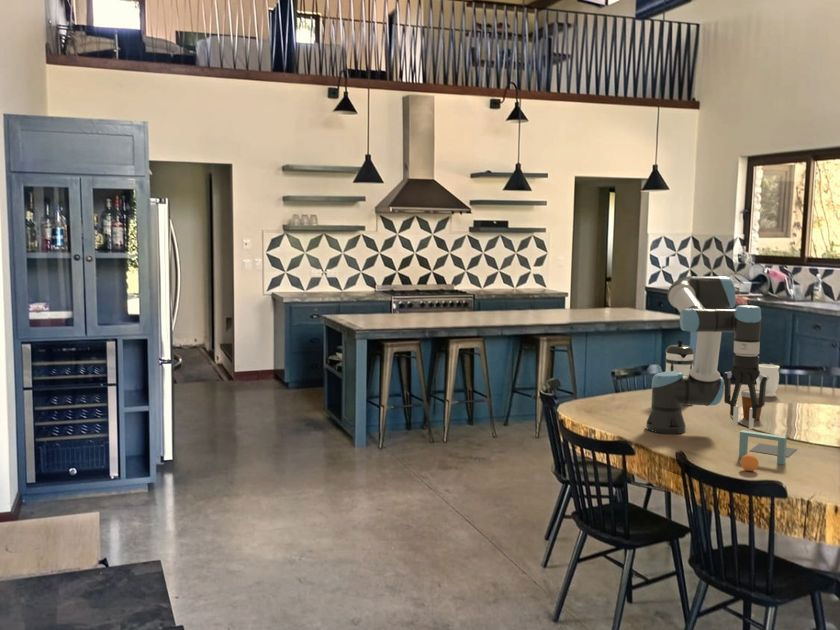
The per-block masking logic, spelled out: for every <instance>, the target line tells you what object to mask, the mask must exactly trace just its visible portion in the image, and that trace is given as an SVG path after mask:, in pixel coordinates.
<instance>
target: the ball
mask: <svg viewBox="0 0 840 630" xmlns="http://www.w3.org/2000/svg"><path fill="white" fill-rule="evenodd" d="M740 466H741V468H742V469H744V470H745V471H747V472H753V471H755V470H757V469H758V467H759V466H760V465H759V460H758V458H757V457H756V456H755V455H754V454H751V453H750V454H748V453H747V455H744V456H743V457H742V458H740Z"/></svg>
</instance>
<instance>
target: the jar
mask: <svg viewBox="0 0 840 630" xmlns="http://www.w3.org/2000/svg"><path fill="white" fill-rule="evenodd" d="M780 368H781V367H780V365H777V364H769V363H759V371H760V374H762V375H764V376H768V377H769V378H768V381H767V383H766V391H765V398H766V397H767V398H769V397H770V398H773V397H776V396H777V394H776V391H777V390H778V386H779V381H780V372H779V369H780ZM755 382H756V388H757V389H756V390H760V383H761V382H760V381H759V377H758V378H757V379H756V380H755Z"/></svg>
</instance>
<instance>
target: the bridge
mask: <svg viewBox="0 0 840 630" xmlns="http://www.w3.org/2000/svg"><path fill="white" fill-rule="evenodd" d="M750 437H751V438H756V439H763V440H771V441H777V446H778V454H777V455H776V456H777V458H776V459H777V460H776V464H777V465H782V466H784V465H785V464H786V462H787V461H786V459H787V457H786V447H787V441H788V440H787V439H788V437H787V436H786V435H785V436H784V435H780V434H779V435H778V434H771V433H764V432H757V431H750V430H740V431H739V442H738V443H739V448H738V458H740V459H741V458H742V457H743V456H744V455H747V454H748V449H749V448H748V447H749V446H748V445H749V444H748V443H749V438H750Z"/></svg>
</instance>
